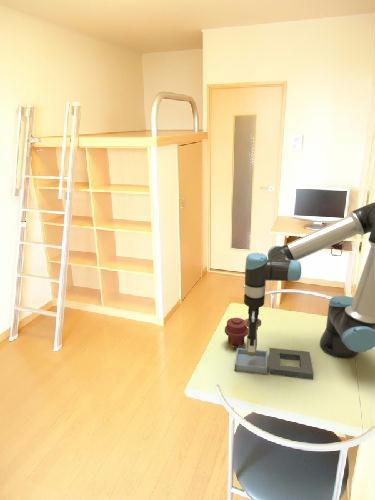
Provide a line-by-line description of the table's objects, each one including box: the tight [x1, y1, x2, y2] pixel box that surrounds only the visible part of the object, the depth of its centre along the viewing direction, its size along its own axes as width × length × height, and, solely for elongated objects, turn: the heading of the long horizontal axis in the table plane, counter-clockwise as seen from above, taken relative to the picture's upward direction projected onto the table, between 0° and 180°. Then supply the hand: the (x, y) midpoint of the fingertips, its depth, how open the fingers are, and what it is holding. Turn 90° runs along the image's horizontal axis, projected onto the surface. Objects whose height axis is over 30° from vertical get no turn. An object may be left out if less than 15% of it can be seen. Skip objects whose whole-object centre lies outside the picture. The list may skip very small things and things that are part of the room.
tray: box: [234, 347, 268, 376], centre depth 141 cm, size 12×11×3 cm
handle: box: [244, 317, 262, 357], centre depth 138 cm, size 5×6×15 cm
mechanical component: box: [224, 317, 248, 350], centre depth 152 cm, size 12×10×10 cm
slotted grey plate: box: [268, 347, 315, 380], centre depth 140 cm, size 16×14×2 cm
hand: (251, 347), depth 139 cm, fingers closed on handle, 4 cm apart
